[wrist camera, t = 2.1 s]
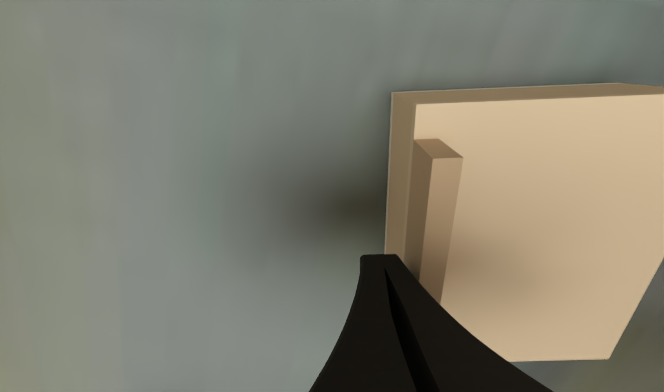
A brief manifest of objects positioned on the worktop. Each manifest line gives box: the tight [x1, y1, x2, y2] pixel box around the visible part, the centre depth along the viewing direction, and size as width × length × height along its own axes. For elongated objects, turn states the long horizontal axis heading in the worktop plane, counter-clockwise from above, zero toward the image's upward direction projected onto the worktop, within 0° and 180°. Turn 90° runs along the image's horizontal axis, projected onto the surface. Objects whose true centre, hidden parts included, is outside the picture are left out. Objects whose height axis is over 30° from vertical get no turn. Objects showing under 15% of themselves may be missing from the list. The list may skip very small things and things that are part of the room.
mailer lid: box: [401, 92, 664, 362], centre depth 11 cm, size 10×12×2 cm
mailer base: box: [384, 83, 664, 259], centre depth 14 cm, size 10×12×4 cm
